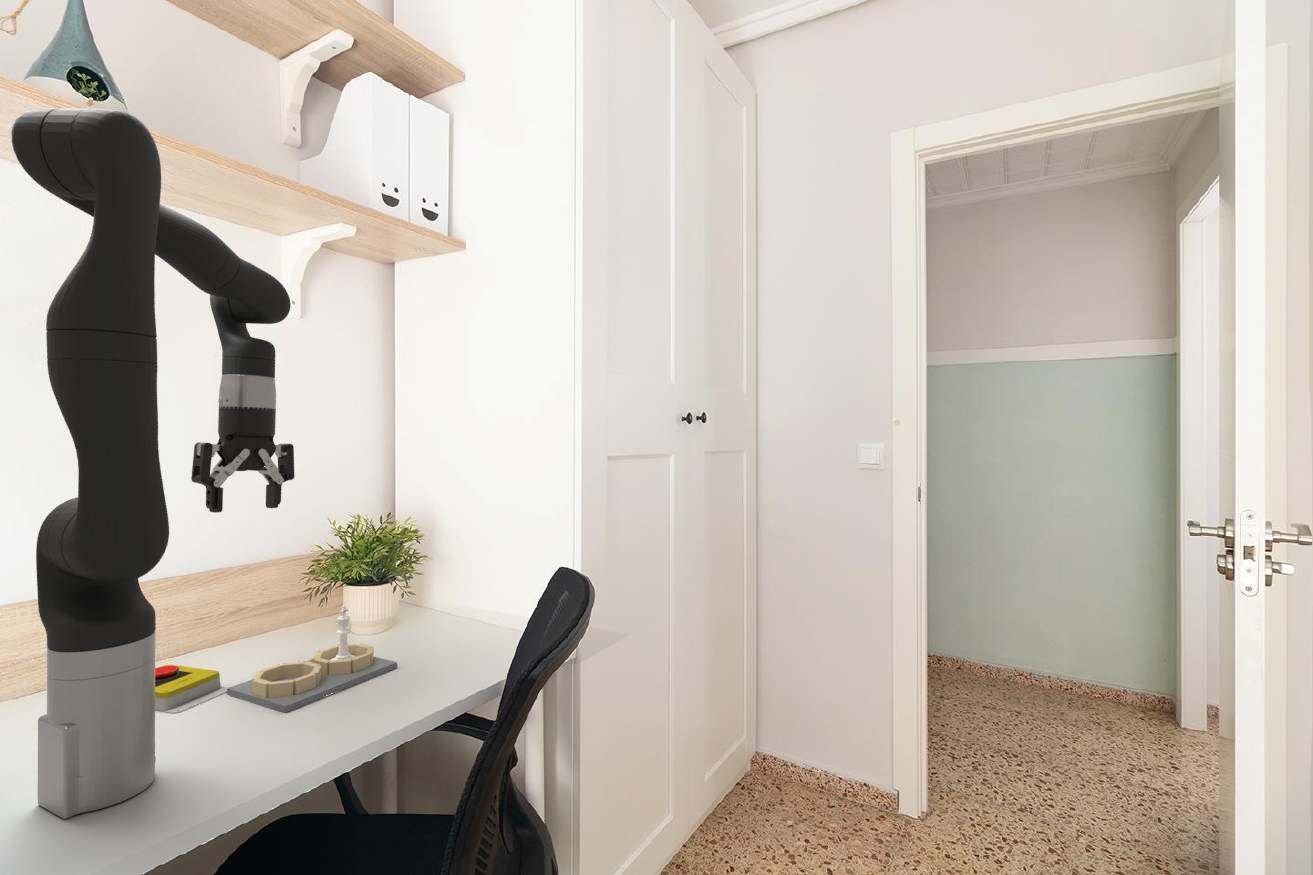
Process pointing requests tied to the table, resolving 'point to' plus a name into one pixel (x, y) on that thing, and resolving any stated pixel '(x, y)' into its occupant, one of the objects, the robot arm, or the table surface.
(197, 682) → the emergency button
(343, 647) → the chess piece
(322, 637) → the table surface
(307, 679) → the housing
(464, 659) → the table surface
